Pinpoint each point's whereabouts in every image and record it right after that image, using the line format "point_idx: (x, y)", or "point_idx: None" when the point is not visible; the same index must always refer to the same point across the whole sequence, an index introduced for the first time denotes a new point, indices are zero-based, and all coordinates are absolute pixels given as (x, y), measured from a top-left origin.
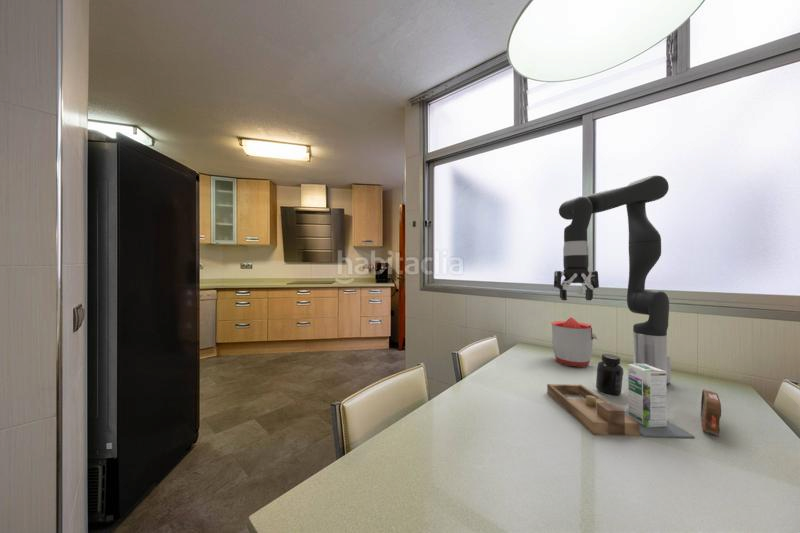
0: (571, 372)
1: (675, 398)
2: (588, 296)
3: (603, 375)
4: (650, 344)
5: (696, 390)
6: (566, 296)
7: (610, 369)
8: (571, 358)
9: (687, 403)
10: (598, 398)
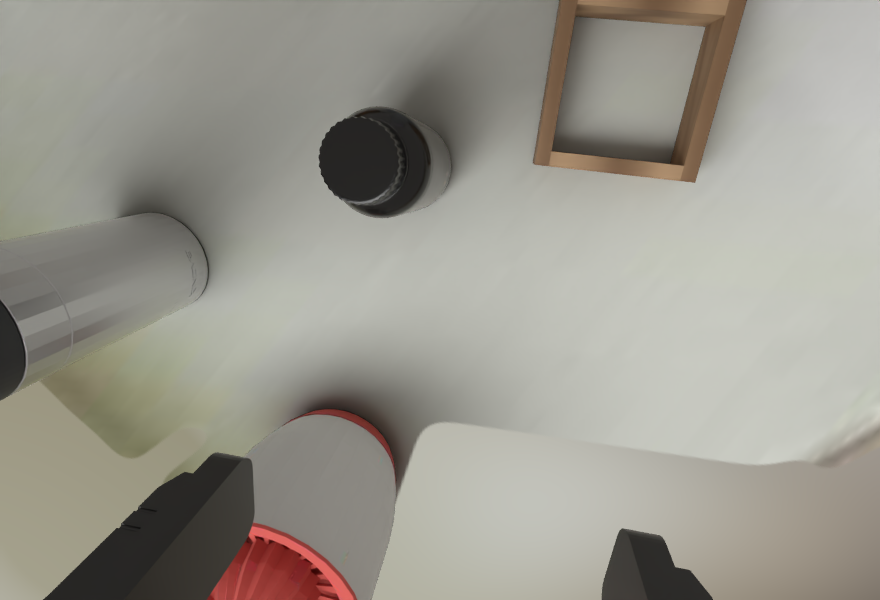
0: (412, 367)
1: (197, 96)
2: (214, 519)
3: (435, 146)
4: (38, 265)
5: (72, 158)
6: (645, 583)
7: (410, 120)
8: (364, 436)
9: (189, 51)
10: (576, 7)
